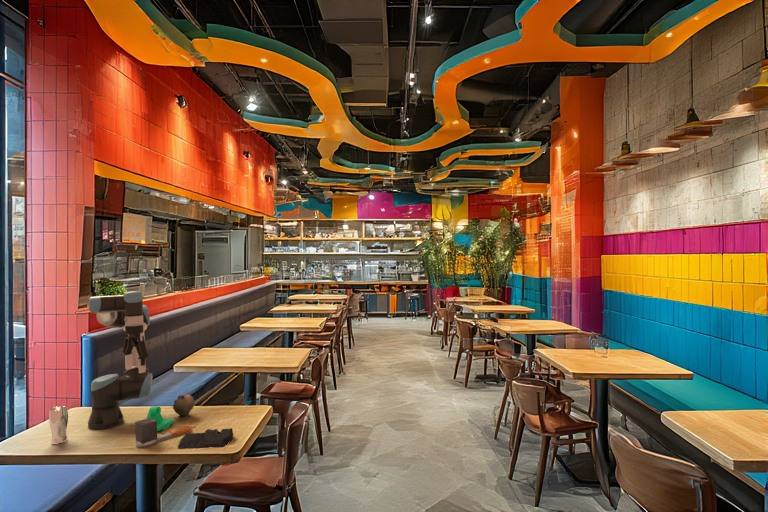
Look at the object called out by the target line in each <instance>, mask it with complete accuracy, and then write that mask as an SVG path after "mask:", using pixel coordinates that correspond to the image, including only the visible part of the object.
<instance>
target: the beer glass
mask: <svg viewBox="0 0 768 512" xmlns="http://www.w3.org/2000/svg"><path fill="white" fill-rule="evenodd" d="M48 413H49V415H48V417H49V418H48V422H49V427H50V431H51V443H52V444H51V445H53V444H56V445H60V444H59V443H62V444H64V443H63V442H65V443H66V442H67V441H68V435H67V429H68V424H69V423H68V422H69V410H68V406H67V405H61V406H60V405H57V406H53V407H52V408H49V412H48Z"/></svg>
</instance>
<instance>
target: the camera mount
mask: <svg viewBox="0 0 768 512" xmlns="http://www.w3.org/2000/svg"><path fill="white" fill-rule="evenodd" d="M161 412H162V408H161V406H155V405H154V406H153V405H151V407H150V408H149V409H148V413H147V415H146V418H145V419H147V418H152V419H154V420H156V421H157V432H159V431H165V430H166V429H168V428H170V425H172V424H174V418H164V417H163V415H162V414H161Z"/></svg>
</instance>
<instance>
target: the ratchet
mask: <svg viewBox="0 0 768 512" xmlns="http://www.w3.org/2000/svg"><path fill="white" fill-rule="evenodd" d="M192 432H193V429H192V426H191V425H187V424H186V425H184V426H181V427H178V428H174V429H172V430H169V431H168V432H167V433H162V434H160V435H157V439H156V440H153V441H150V442H146V443H143V444H142V443H140V442H138V441H136V440H135V445H136V448H138V449H146V448H151V447H153V446H155V445H156V444H157V443H159V442H163V441H165V440H168V439H171V438H175V437H179V436H182V435H185V434H187V433H192Z"/></svg>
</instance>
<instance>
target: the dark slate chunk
mask: <svg viewBox="0 0 768 512" xmlns="http://www.w3.org/2000/svg"><path fill="white" fill-rule="evenodd" d="M233 438H234V430H233V428H232V427H231V428H222V429H221V430H220V431H219V429H218V428H215V429H211V428H210V429H209V428H208V429H206V430H204V432H188V433H185V434H183V436H182V438H180V440H179V443H178V445H177V449H178V450H189V449H190V450H191V449H192V450H193V449H210V448H209V447H214V448H224V447H226V446H225V445H227V444H228V442H229V441H230V442H232V440H233ZM230 442H229V443H230ZM228 445H229V444H228ZM228 445H227V446H228Z"/></svg>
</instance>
